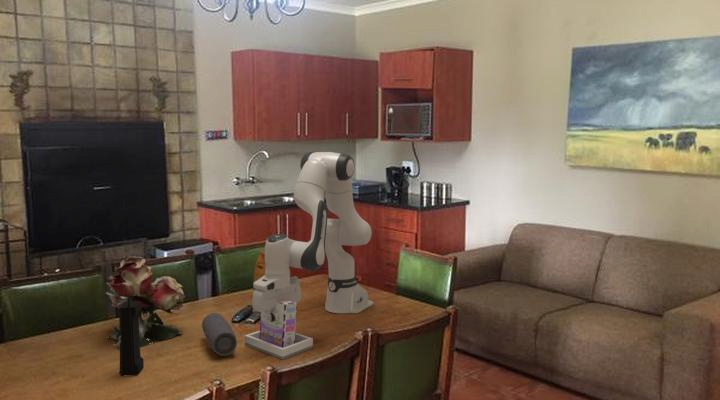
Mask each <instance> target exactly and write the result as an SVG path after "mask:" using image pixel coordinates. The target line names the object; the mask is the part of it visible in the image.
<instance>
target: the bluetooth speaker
mask: <svg viewBox="0 0 720 400" xmlns="http://www.w3.org/2000/svg"><path fill="white" fill-rule="evenodd" d="M201 329H202V331H203V335H204V336H205V339H206V341H207V343H208V344H209V346H210V347H211V349H212V351H214V353H215V354H217V355H219V356H223V357H224V356H228V355H231V354H232V353H233V352H235V350H236V348H237V345H238V341H237V337H236V334H235V332H234V330H233V328H232V327H231V325H230V324H229V322H228V321H227V320H226V319H225V317H224V316H223V315H221V314H220V313H218V312H211V313H208V314H207V315H206V316H205V317H203V320H202V324H201Z"/></svg>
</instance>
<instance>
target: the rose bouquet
mask: <svg viewBox="0 0 720 400" xmlns="http://www.w3.org/2000/svg"><path fill="white" fill-rule="evenodd" d="M145 263H146V259H145V258H142V257H141V256H128V258H126V259H122V261H120V266H119V267H117V266H115V267H113V268H114V270H115V271H116V272H112V273H111V274H110V275H109V276H108V278H107V279H108V281H109V280H112V281H110V282H106V285H108V286H109V287H110V289H109V291H105V292H104V293H105V295H108V296H109V298H110V300H111V302H112V303H111V306H112V307H115V308H118V309H119V308H120V307H121V306H122V305H123V304H124V303H125V302H126V301H128V299H130V300H129V301H140V302H141V310H140V311H139V312H138V316H139V338H140V346H143V347H145V346H146V347H147V346H149V345H150V344H149V343H152V342H153V344H155V343H157V342H159V341H163V340H164V341H165V340H170V339H171V338H174V337H176V336H177V335H181V334H182V332H181V331H183V330H182V329H181V330H180V329H178V328H177V327H172V325H168V324H166V323H164V322H163V320H162V318H161V317H160V316H159V315H158V313H157V312H155V311H157V310H161V311H163V312H165V313H166V314H170V315H174V314H175V315H177V316H178V315H179V314H177V313H175V312H173V311H179V310H180V309H181V308H183V307H184V303H182V302H184V299H185V298H186V295H185V294H184V291H183V289H182V288H184V286H182V284H180V283H178V282H177V280H176V279H175V278H174V277H171V276H168V275H167V276H164V275H163V276H161V277H157V278H155V279H154V281H153V282H152V278H153V274H154V272H152V267H151V266H147V265H145ZM178 302H179V303H178ZM180 302H181V303H180ZM171 310H172V311H171ZM148 314H149V315H148ZM143 318H145V319H143ZM111 329H112V332H111V334H110V335H108V337H109V338H110V339H114V340H116V341H117V343H112V345H113V346H114V347H116V348H117V349H119V350H120V343H121V332H120V326H114V327H111ZM147 338H148V339H150V340H149V341H148V340H146V339H147Z"/></svg>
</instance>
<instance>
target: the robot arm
mask: <svg viewBox="0 0 720 400" xmlns="http://www.w3.org/2000/svg"><path fill="white" fill-rule="evenodd" d="M354 172H355V161H354V158H352V156H350V155H349V154H347V153H338V152H333V151H326V152H325V151H319V152H318V151H317V152H316V151H309V152H306V153H304V154H303V156H302V157H301V160H300V173H299V174H298V177H297V179H296V184H295V187H294V190H293V199H294V201H295V204H296V205H297V206H298V208H300V209H302V211H305V212H306V213H308V214H309V215H311V217H312V226H311V235H310V240H308V241H307V242H306V241H300V240H294V239H291V238H289V237H288V235H287V234H285V233H276V234H275V233H274V234H272V235H270V236H268V237H267V238H266V241H265V245H264V253H265V263H266V269H265V275H264V276H263V277H261V278H260V279H258V280H257V281H255V282H254V281H253V282H254V283H253V284H252V285H253V292H252V301H251V302H252V304H251V306H252V309H253V310H254V311H256V312H258V313H261V312H262V311H264V312H265V314H266V315H267V321H272V320H273V315H271V314H270V312H271V309H273V308H275V307H276V301H279V300H283V299H288V300H291V301H295V302H297V303H298V302H300V301H301V299H302V289H301V284H300V278H299V277H298V276H297V275H293V276H291V270H290V267H291V268H296V269H302V270H305V271H310V272H315V271H318V270H319V269H320V268H321V267H322V266H323V265H324V263H325V261H326V259H327V266H328V276H327V289H326V290H327V291H326V299H325V302H324V305H325V306H324V310H325V311H327V312H329V313H334V314H359V313H360V312H362V311H364V310H366V309H369V307H371V306H373V305H374V302H373V301H372V300H370V299H369V295H368V291H367V290H366V289H365V288H363V286H361V285H360V284H358V282H357V281H359V282H360V281H361V280H362V276H361V275H355V259H354V257H353V256H352V255H351V254H349V253H348V252H347V251H345V250H344V249H343V247H342V246H352V247H357V246H363V245H367V244H368V243H369V242H370V240H371V239H372V233H373V232H372V228H371V226H370V224H369V223H368V222H367V221H366V220H364V219H363V218H362V217H361V216H360V214H359V213H358V212H357V210H356V207H355V205H354V198H353V197H354V196H353V185H352V177H353V175H354ZM324 197H325V199H324ZM325 200H326V201H325ZM329 211H330V213H333V214H334V215H336V216H337V217H338V218H329V217H328V216H329V213H328V212H329ZM326 257H327V258H326ZM254 288H255V290H254Z"/></svg>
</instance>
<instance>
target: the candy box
mask: <svg viewBox="0 0 720 400" xmlns="http://www.w3.org/2000/svg"><path fill="white" fill-rule="evenodd" d="M297 305H298V301H297V302H295V301H291V300H288V299H283V300H279V301H276V307H275V308H273V309H271V312H270V314H271V315H273V320H272V321H267V315H266V314H265V312H264V311H262V312H260V319H259V320H260V321H259V331H260V340H263V341H266V342H268V343H271V344H274V345H276V346H279V347H282V348H284V347H287V346H289V345H292V344H295V333H296V325H297V310H298V308H297V307H298V306H297Z"/></svg>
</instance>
